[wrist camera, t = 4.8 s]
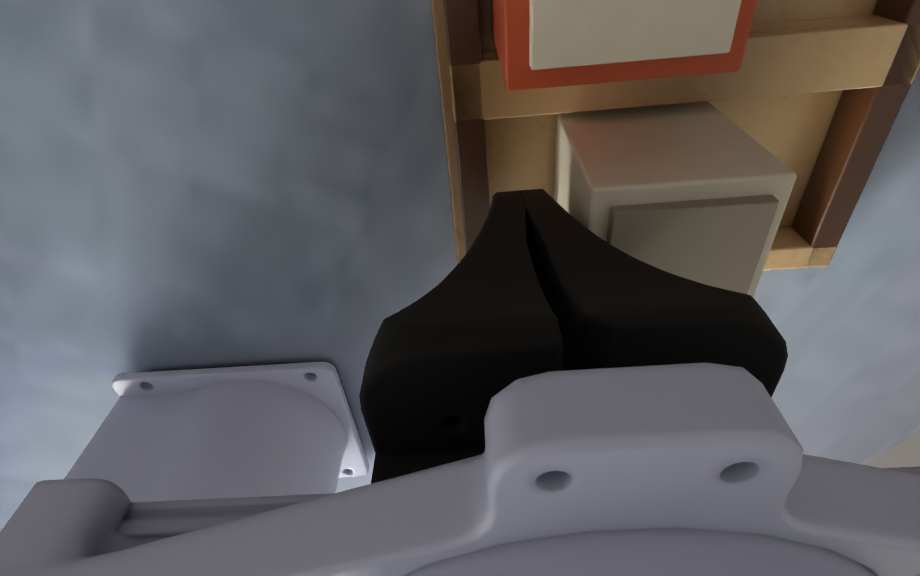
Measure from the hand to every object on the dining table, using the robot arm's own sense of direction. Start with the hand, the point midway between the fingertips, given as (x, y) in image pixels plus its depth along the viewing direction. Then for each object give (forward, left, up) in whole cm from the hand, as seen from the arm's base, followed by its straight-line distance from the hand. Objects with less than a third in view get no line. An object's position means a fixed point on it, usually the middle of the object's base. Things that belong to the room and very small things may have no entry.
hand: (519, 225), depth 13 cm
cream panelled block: (+3, 0, -2) cm, 4 cm away
